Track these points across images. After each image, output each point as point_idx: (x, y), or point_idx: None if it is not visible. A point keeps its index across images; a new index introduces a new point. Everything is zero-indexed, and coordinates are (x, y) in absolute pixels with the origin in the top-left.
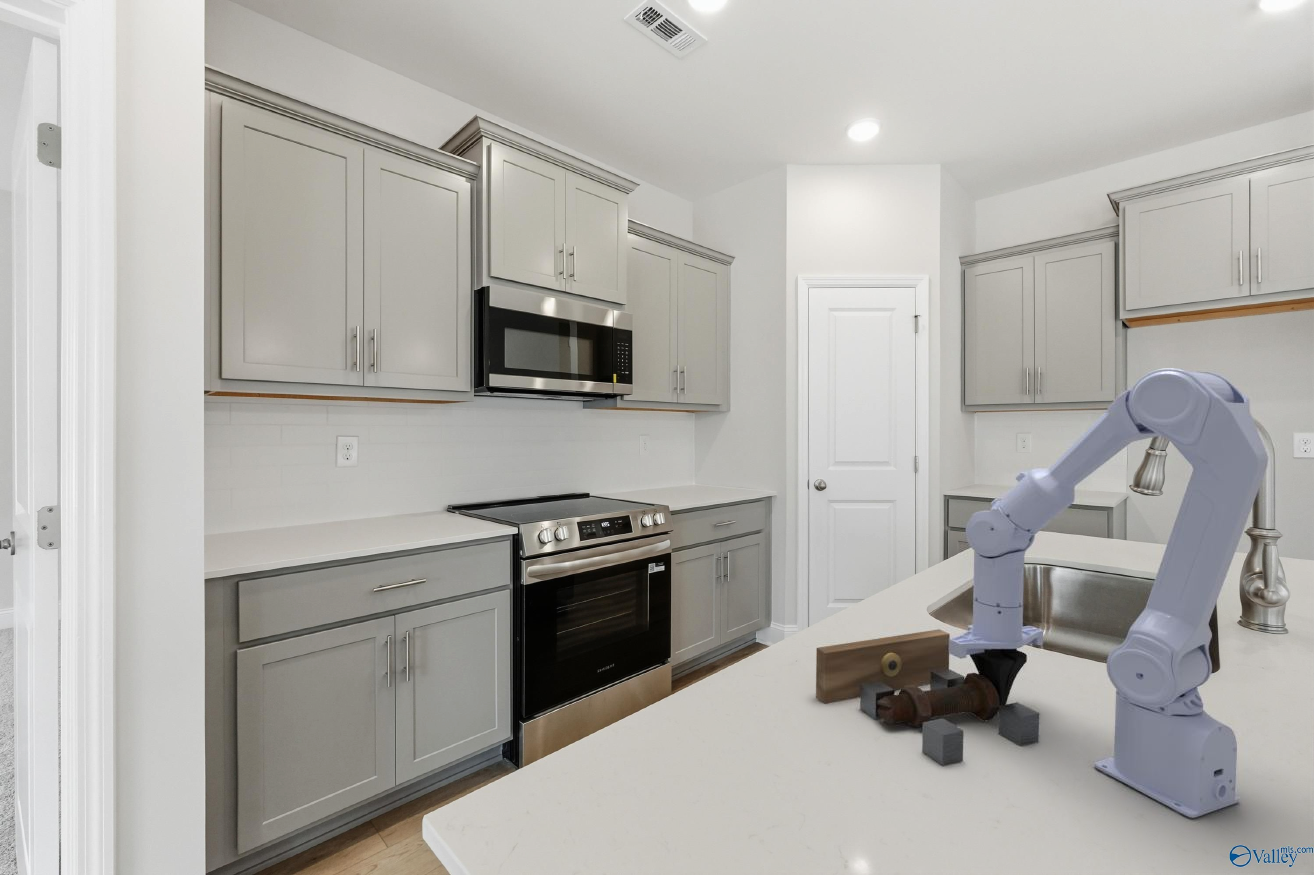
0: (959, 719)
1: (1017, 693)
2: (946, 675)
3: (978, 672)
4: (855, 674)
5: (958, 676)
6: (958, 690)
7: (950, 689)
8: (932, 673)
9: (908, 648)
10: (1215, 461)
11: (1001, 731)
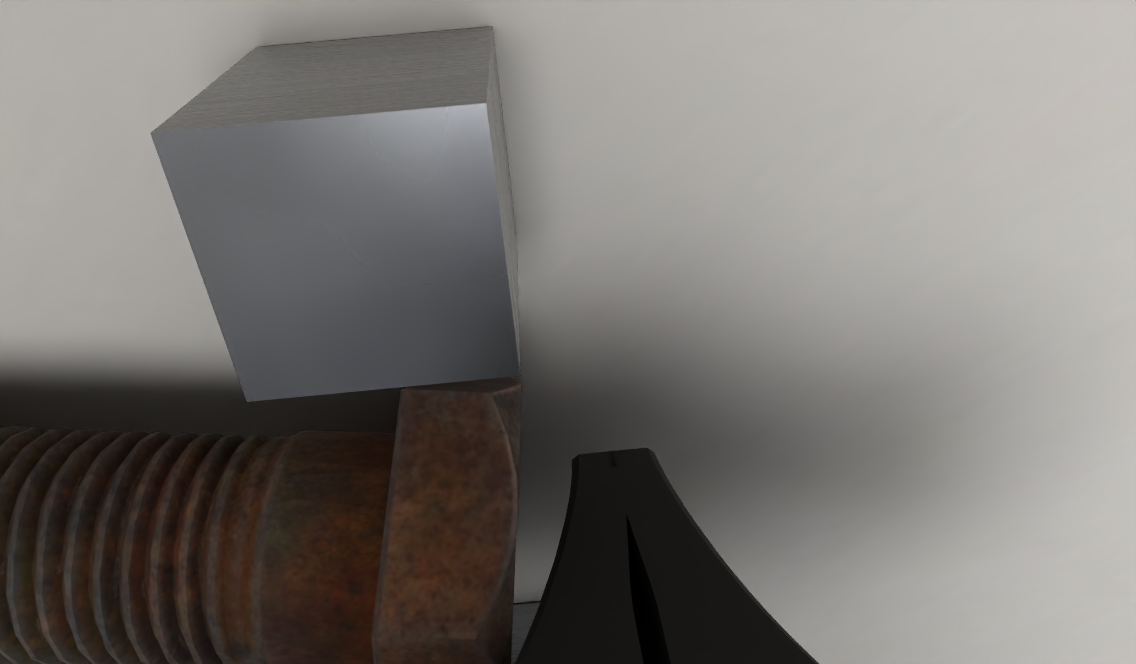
0: None
1: (1123, 219)
2: (310, 304)
3: (524, 645)
4: None
5: (450, 357)
6: (167, 660)
7: (82, 651)
8: (171, 163)
9: None
10: None
11: None
